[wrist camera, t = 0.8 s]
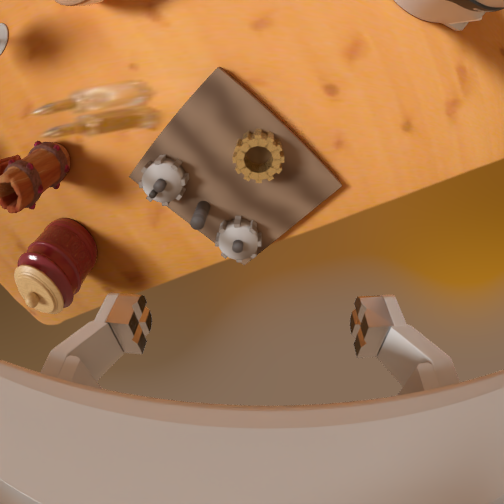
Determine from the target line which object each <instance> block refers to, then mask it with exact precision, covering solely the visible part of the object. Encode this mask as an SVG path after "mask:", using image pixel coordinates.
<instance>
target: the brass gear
mask: <svg viewBox="0 0 504 504" xmlns="http://www.w3.org/2000/svg"><path fill="white" fill-rule="evenodd" d="M256 146H261V147H265V148H267V149H268V150H269V151H270V152H271V154H272V156H271V158H270V159H269V160H268V161H267V162H266V163H262V164H257V163H253V162H251V161H250V160H249V159H248V158H247V155H246V152H247V151H248V150H249V149H250V148H252V147H256ZM232 158H233V163H237V164H236V167H235V170H236V172H237V173H238V174H240V173H242V174H244V179H245V180H247V181H250V179H254V180H256V183H262V180H263V179H267V180H268V181H270V180H272V179H274V174H275V173H278V174H279V173H280V172H281V170H282V163H284V152H283V149H282V144H281V141H280V140H279V138H277V139H274V133H272V132H270V131H268V132H267V133H263V132H262V129H255V133H250V132H249V131H248V132H246V133H244V135H243V138H242V139H240V138H239V140H238V141H237V143H236V146H235V149H234V154H233V157H232Z"/></svg>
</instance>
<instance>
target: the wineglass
mask: <svg viewBox="0 0 504 504" xmlns="http://www.w3.org/2000/svg"><path fill="white" fill-rule="evenodd" d="M7 40H8V29H7V26H6V25H5V24H3V23H0V55H1V54H2V52H3V51H4V49H5V47H6V44H7Z"/></svg>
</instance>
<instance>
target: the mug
mask: <svg viewBox="0 0 504 504" xmlns="http://www.w3.org/2000/svg"><path fill="white" fill-rule="evenodd" d="M69 170H70V158H69V154H68V152H67V150H66V149H65V148H64V147H63V146H62V145H60V144H58V143H53V142H43V143H41V142H40V141H37V142H35V144H34V148H33V149H32V150H31V151H30V152H29V154H28V156H26V157H25V158H23V159H22V160H21V158H20V156H19V155H16V156H12V157H8V158H5V159H1V160H0V205H1V206H2V208H4V209H7V210H8V212H9V213H17V212H19V211H21V210H22V209H24V208H28V207H29V209H34V208H35V205H36V204H35V202H36V201H37V200H38V199H39V198H40V196H41V194H42V193H43V192H44V191H45V190H46V189H47V188H49V187H53V188H54V189H58V188H59V186H60V182H61V181H62V180H63V178H64V177H65V175H66V173H67V172H68V171H69Z"/></svg>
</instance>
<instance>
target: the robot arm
mask: <svg viewBox="0 0 504 504" xmlns="http://www.w3.org/2000/svg"><path fill="white" fill-rule="evenodd" d="M394 1H395V2H396V3H397V4H398V5H399V6H400V7H401V8H403V9H404V10H405V11H407V12H408V13H410V14H412V15H413V16H415V17H417V18H419V19H422V20H425V21H429V22H436V23H442V24H444V25H446V26H447V27H449V28H451V29H453V30H455V31H460V30H463V29H464V28H465V26H466V25H467V24H468V22H471V21H479V20H481V19H482V16H483V15H484V14H485V12H494V11H498V10H502V9H504V0H394ZM146 303H147V302H146V299H145V296H143V295H135V294H123V293H120V294H119V293H109V294H108V295H107V296H106V298H105V300H104V302H103V304H102V306H101V308H100V310H99V312H98V314H97V316H96V318H95V320H94V321H90V322H89V323H87V324H86V325H85V326H84V327H82V328H81V329H79V330H78V331H76V332H75V333H74V334H72V335H71V336H70V337H69V338H67V339H66V340H65V341H63V342H62V343H60V344H59V345H58V346H56V347H55V348H54V349H52V350H51V352H50V354H49V356H48V358H47V360H46V362H45V364H44V366H43V368H42V371H41V373H39V372H35V371H32V370H29V369H26V368H23V367H20V366H17V365H14V364H11V363H9V362H6V361H3V360H0V504H504V370H501V371H498V372H495V373H491V374H488V375H485V376H481V377H478V378H475V379H471V380H467V381H463V382H460V381H459V378H458V375H457V373H456V370H455V368H454V365H453V363H452V360H451V358H450V357H449V356H448V355H447V354H445V353H444V352H443V351H442V350H441V349H439V348H438V347H437V346H436V345H435V344H433V343H432V342H431V341H430V340H428V339H427V338H426V337H425V336H423V335H422V334H421V333H420V332H418V331H417V330H416V329H415V328H413V327H412V326H411V325H407V324H406V322H405V319H404V317H403V314H402V312H401V310H400V307H399V305H398V302H397V300H396V298H395V296H394V295H381V296H380V295H378V296H359V297H357V298H356V300H355V303H354V305H355V308H356V309H355V310H354V311H353V312H352V314H351V318H350V330H351V334H352V336H353V337H354V338H355V342H354V347H355V352H356V356H357V358H362V357H377V358H378V359H379V360H380V362H381V363H382V364H383V365H384V366H385V367H386V368H387V370H388V371H389V372H390V373H391V374H392V375H393V376H394V377H395V379H396V380H397V381H398V382H399V383H400V384H401V385H402V387H403V388H402V389H401V391H400V392H399V393H398V395H397V396H391V397H384V398H377V399H369V400H362V401H361V400H360V401H351V402H342V403H329V404H312V405H284V406H251V405H248V406H247V405H224V404H208V403H194V402H184V401H175V400H166V399H158V398H152V397H145V396H138V395H132V394H126V393H120V392H115V391H110V390H105V389H102V388H101V387H100V385H99V384H98V383H97V381H98V379H100V377H101V376H102V375H103V374H104V373H105V372H106V371H107V370H108V369H109V368H110V367H111V366H112V365H113V364H114V363H115V362H116V361H117V360H118V359H119V358H120V357H121V356H122V355H123V354H124V353H123V352H125V353H135V354H143V351H144V348H145V345H146V342H147V341H146V338H145V336H146V335H147V334H148V333H150V329H151V325H152V324H151V323H152V317H151V313H150V310H149V309H148V308H146V307H145V305H146Z"/></svg>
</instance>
